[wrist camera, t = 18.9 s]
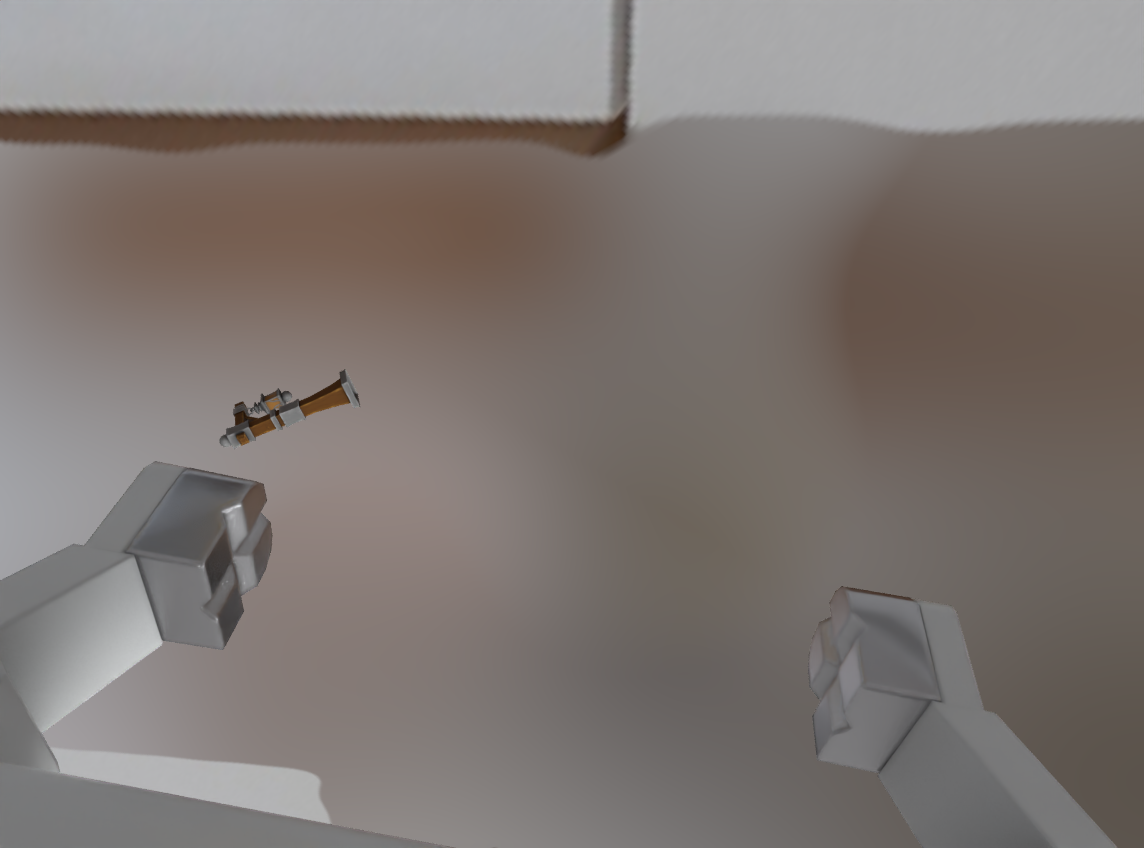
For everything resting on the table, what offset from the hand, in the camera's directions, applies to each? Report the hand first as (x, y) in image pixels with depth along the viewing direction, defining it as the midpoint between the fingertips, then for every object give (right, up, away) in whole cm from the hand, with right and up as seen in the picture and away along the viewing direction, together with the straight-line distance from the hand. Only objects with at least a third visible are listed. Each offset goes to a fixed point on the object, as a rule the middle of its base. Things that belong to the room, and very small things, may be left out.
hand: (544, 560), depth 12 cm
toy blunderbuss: (-16, +4, +39) cm, 42 cm away
